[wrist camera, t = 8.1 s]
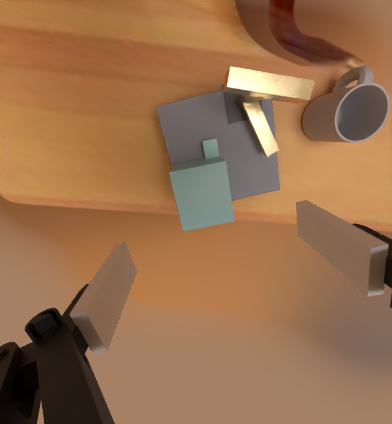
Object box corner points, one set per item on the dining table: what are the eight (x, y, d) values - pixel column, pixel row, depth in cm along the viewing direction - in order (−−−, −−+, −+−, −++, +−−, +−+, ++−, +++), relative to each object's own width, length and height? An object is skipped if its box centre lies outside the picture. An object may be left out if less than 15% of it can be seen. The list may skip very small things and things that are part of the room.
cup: (294, 137, 37) (326, 137, 28) (314, 71, 33) (357, 50, 25) (332, 144, 37) (374, 146, 29) (356, 80, 34) (411, 63, 26)
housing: (159, 108, 34) (154, 102, 28) (255, 83, 33) (269, 72, 28) (184, 201, 40) (184, 212, 34) (266, 181, 39) (280, 189, 33)
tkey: (207, 147, 31) (216, 153, 21) (216, 88, 28) (230, 65, 18) (270, 156, 31) (306, 165, 22) (284, 99, 29) (331, 82, 19)
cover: (168, 147, 31) (163, 151, 24) (215, 138, 30) (222, 139, 24) (183, 212, 34) (183, 231, 28) (225, 204, 34) (234, 221, 28)
